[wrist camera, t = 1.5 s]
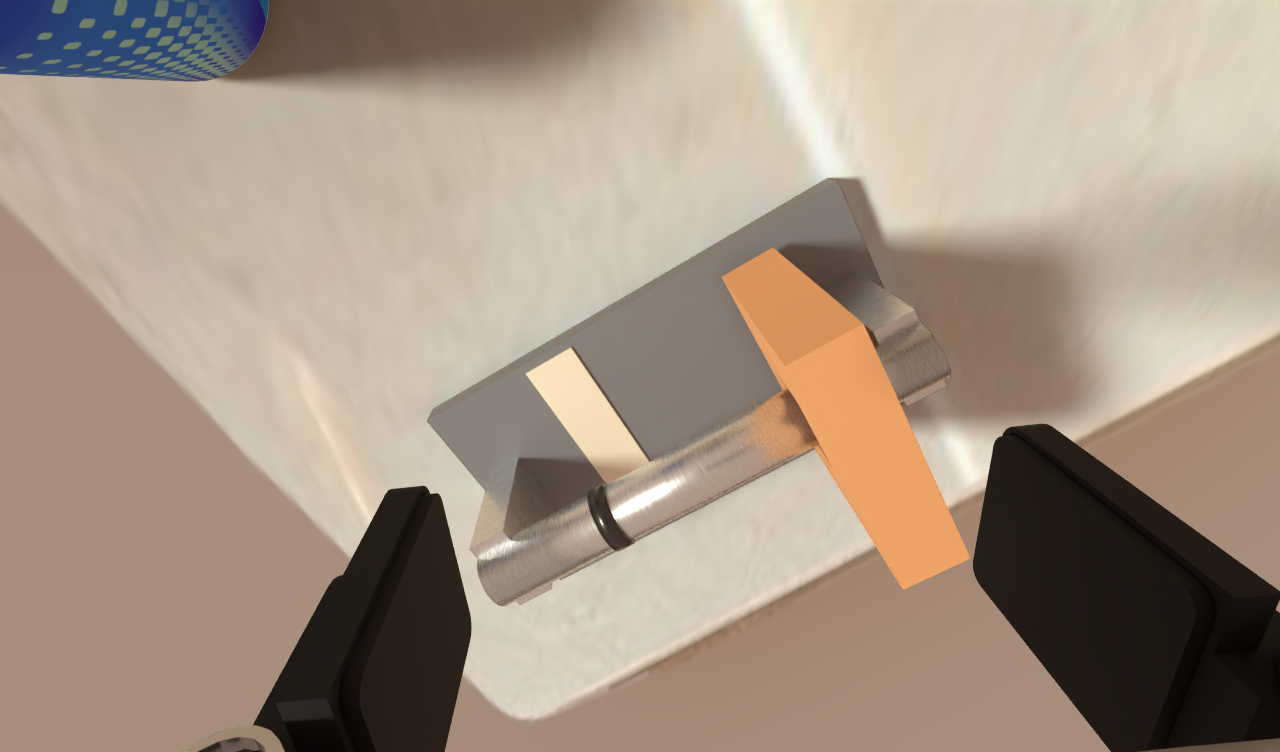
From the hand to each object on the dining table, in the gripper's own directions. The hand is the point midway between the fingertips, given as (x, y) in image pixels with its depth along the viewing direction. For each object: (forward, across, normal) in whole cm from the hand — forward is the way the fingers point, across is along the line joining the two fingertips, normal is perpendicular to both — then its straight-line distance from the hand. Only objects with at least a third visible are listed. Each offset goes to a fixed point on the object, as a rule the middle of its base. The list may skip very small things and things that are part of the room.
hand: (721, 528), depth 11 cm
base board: (+26, -2, +10) cm, 28 cm away
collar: (+23, -8, +7) cm, 26 cm away
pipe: (+24, -2, +10) cm, 26 cm away
